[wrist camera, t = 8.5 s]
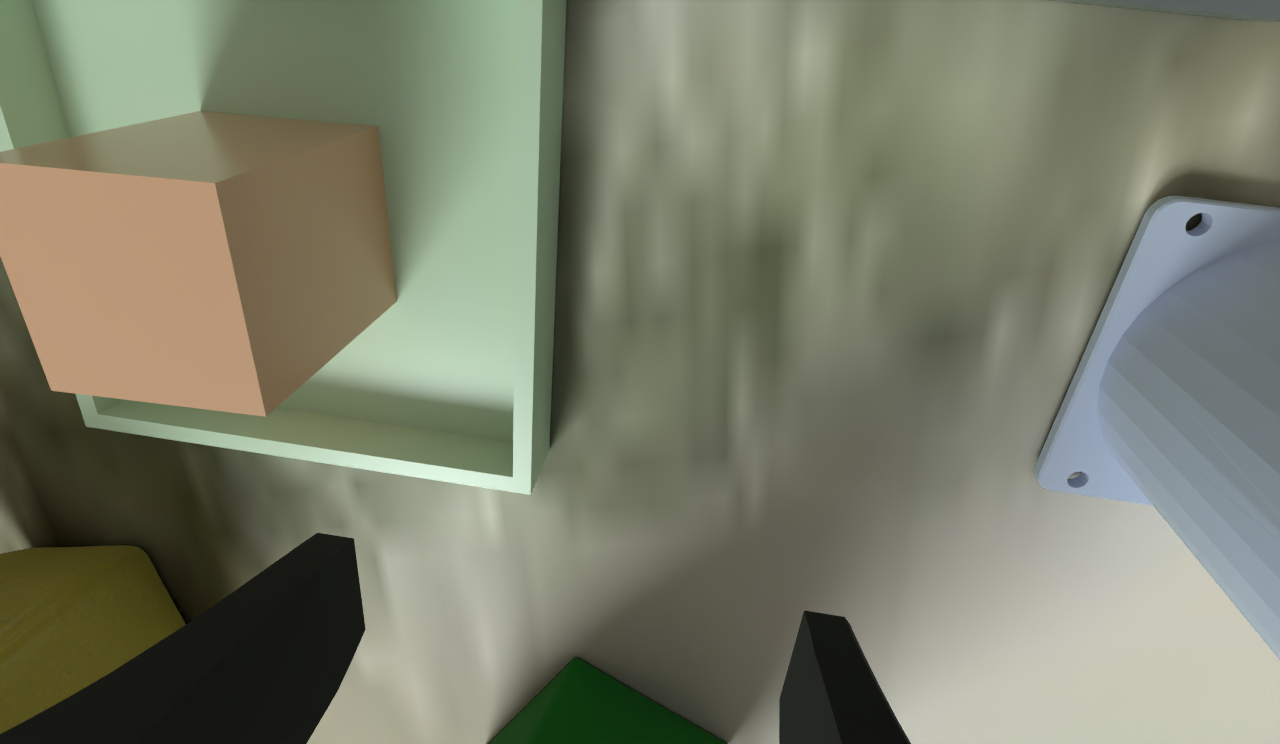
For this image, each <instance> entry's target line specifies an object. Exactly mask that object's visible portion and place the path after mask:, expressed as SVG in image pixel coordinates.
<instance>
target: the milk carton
mask: <svg viewBox="0 0 1280 744" xmlns="http://www.w3.org/2000/svg"><path fill="white" fill-rule="evenodd" d="M489 744H727V743H725V742H723V741H722V740H720V739H718V738H716V737H715V736H713V735H711V734H709V733H708V732H706V731H704V730H702V729H701V728H699V727H697V726H695V725H694V724H692V723H690V722H688V721H687V720H685V719H683V718H681V717H680V716H678V715H676V714H675V713H673V712H671V711H669V710H668V709H666V708H664V707H662V706H661V705H659V704H657V703H655V702H654V701H652V700H650V699H648V698H647V697H645V696H643V695H641V694H640V693H638V692H636V691H634V690H633V689H631V688H629V687H627V686H626V685H624V684H622V683H620V682H619V681H617V680H615V679H613V678H612V677H610V676H608V675H606V674H605V673H603V672H601V671H599V670H598V669H596V668H594V667H592V666H591V665H589V664H587V663H585V662H584V661H582V660H580V659H579V658H577V657H575V658H574V659H573V660H572V661H571V662H570V663H569V664H568V665H567V666H566V667H565V668H564V669H563V670H562V671H561V672H560V673H559V674H558V675H557V676H556V677H555V678H554V679H553V680H552V681H551V682H550V683H549V684H548V685H547V686H546V687H545V688H544V689H543V690H542V691H541V692H540V693H539V694H538V695H537V696H536V697H535V698H534V699H533V700H532V701H531V702H530V703H529V704H528V705H527V706H526V707H525V708H524V709H523V710H522V711H521V712H520V713H519V714H518V715H517V716H516V717H515V718H514V719H513V720H512V721H511V722H510V723H509V724H508V725H507V726H506V727H505V728H504V729H503V730H502V731H501V732H500V733H499V734H498V735H497V736H496V737H495V738H494V739H493V740H492V741H491V742H490V743H489Z"/></svg>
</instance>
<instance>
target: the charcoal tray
mask: <svg viewBox="0 0 1280 744" xmlns="http://www.w3.org/2000/svg"><path fill="white" fill-rule="evenodd" d="M1050 1H1060V2H1070V3H1080V4H1090V5H1100V6H1109V7H1119V8H1129V9H1139V10H1149V11H1158V12H1168V13H1178V14H1188V15H1198V16H1208V17H1217V18H1227V19H1237V20H1247V21H1270V22H1280V0H1050Z"/></svg>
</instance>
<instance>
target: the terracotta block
mask: <svg viewBox="0 0 1280 744" xmlns="http://www.w3.org/2000/svg"><path fill="white" fill-rule="evenodd" d="M0 256H1V259H2V262H3V264H4V267H5V270H6V272H7V275H8V277H9V280H10V283H11V285H12V288H13V291H14V293H15V296H16V299H17V301H18V304H19V307H20V309H21V312H22V315H23V317H24V320H25V322H26V325H27V328H28V330H29V333H30V336H31V338H32V341H33V344H34V346H35V349H36V352H37V354H38V357H39V359H40V362H41V365H42V367H43V370H44V373H45V375H46V378H47V381H48V383H49V386H50V389H51V391H58V392H66V393H75V394H83V395H91V396H99V397H108V398H116V399H124V400H132V401H141V402H149V403H157V404H165V405H174V406H182V407H190V408H198V409H206V410H215V411H223V412H231V413H239V414H248V415H256V416H264V417H266V416H267V415H269V414H270V413H271V412H272V411H273V410H274V409H275V408H277V407H278V406H279V405H280V404H281V403H282V402H283V401H284V400H286V399H287V398H288V397H289V396H290V395H291V394H292V393H294V392H295V391H296V390H297V389H298V388H299V387H300V386H302V385H303V384H304V383H305V382H306V381H307V380H308V379H309V378H311V377H312V376H313V375H314V374H315V373H316V372H317V371H319V370H320V369H321V368H322V367H323V366H324V365H325V364H327V363H328V362H329V361H330V360H331V359H332V358H333V357H334V356H336V355H337V354H338V353H339V352H340V351H341V350H342V349H344V348H345V347H346V346H347V345H348V344H349V343H350V342H351V341H353V340H354V339H355V338H356V337H357V336H358V335H359V334H361V333H362V332H363V331H364V330H365V329H366V328H367V327H369V326H370V325H371V324H372V323H373V322H374V321H375V320H376V319H378V318H379V317H380V316H381V315H382V314H383V313H384V312H386V311H387V310H388V309H389V308H390V307H391V306H392V305H393V304H395V303H396V302H397V296H396V287H395V277H394V268H393V259H392V250H391V240H390V231H389V222H388V213H387V203H386V194H385V185H384V176H383V167H382V157H381V148H380V139H379V130H378V126H371V125H360V124H348V123H336V122H325V121H313V120H301V119H290V118H278V117H266V116H255V115H243V114H231V113H220V112H208V111H197V112H192V113H187V114H183V115H178V116H173V117H168V118H163V119H158V120H153V121H148V122H144V123H139V124H134V125H129V126H124V127H119V128H114V129H109V130H105V131H100V132H95V133H90V134H85V135H80V136H75V137H70V138H66V139H61V140H56V141H51V142H46V143H41V144H36V145H31V146H27V147H22V148H17V149H12V150H7V151H2V152H0Z"/></svg>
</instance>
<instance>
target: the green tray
mask: <svg viewBox="0 0 1280 744" xmlns="http://www.w3.org/2000/svg"><path fill="white" fill-rule="evenodd" d="M566 5H567V0H0V152H2V151H7V150H12V149H17V148H22V147H27V146H31V145H36V144H41V143H46V142H51V141H56V140H61V139H66V138H70V137H75V136H80V135H85V134H90V133H95V132H100V131H105V130H109V129H114V128H119V127H124V126H129V125H134V124H139V123H144V122H148V121H153V120H158V119H163V118H168V117H173V116H178V115H183V114H187V113H192V112H197V111H208V112H220V113H231V114H243V115H255V116H266V117H278V118H290V119H301V120H313V121H325V122H336V123H348V124H360V125H371V126H378V130H379V139H380V148H381V157H382V167H383V176H384V185H385V194H386V203H387V213H388V222H389V231H390V240H391V250H392V259H393V268H394V277H395V287H396V296H397V302H396V303H395V304H393V305H392V306H391V307H390V308H389V309H388V310H387V311H386V312H384V313H383V314H382V315H381V316H380V317H379V318H378V319H376V320H375V321H374V322H373V323H372V324H371V325H370V326H369V327H367V328H366V329H365V330H364V331H363V332H362V333H361V334H359V335H358V336H357V337H356V338H355V339H354V340H353V341H351V342H350V343H349V344H348V345H347V346H346V347H345V348H344V349H342V350H341V351H340V352H339V353H338V354H337V355H336V356H334V357H333V358H332V359H331V360H330V361H329V362H328V363H327V364H325V365H324V366H323V367H322V368H321V369H320V370H319V371H317V372H316V373H315V374H314V375H313V376H312V377H311V378H309V379H308V380H307V381H306V382H305V383H304V384H303V385H302V386H300V387H299V388H298V389H297V390H296V391H295V392H294V393H292V394H291V395H290V396H289V397H288V398H287V399H286V400H284V401H283V402H282V403H281V404H280V405H279V406H278V407H277V408H275V409H274V410H273V411H272V412H271V413H270V414H269V415H267V416H266V417H264V416H256V415H248V414H239V413H231V412H223V411H215V410H206V409H198V408H190V407H182V406H174V405H165V404H157V403H149V402H141V401H132V400H124V399H116V398H108V397H99V396H91V395H83V394H75V395H76V398H77V401H78V404H79V407H80V410H81V413H82V416H83V419H84V422H85V425H86V427H91V428H98V429H104V430H111V431H117V432H124V433H130V434H137V435H143V436H150V437H156V438H163V439H170V440H176V441H183V442H189V443H196V444H202V445H209V446H215V447H222V448H228V449H235V450H241V451H248V452H254V453H261V454H268V455H274V456H281V457H287V458H294V459H300V460H307V461H313V462H320V463H326V464H333V465H339V466H346V467H352V468H359V469H366V470H372V471H379V472H385V473H392V474H398V475H405V476H411V477H418V478H424V479H431V480H437V481H444V482H450V483H457V484H464V485H470V486H477V487H483V488H490V489H496V490H503V491H509V492H516V493H522V494H529V495H531V493H532V490H533V488H534V485H535V483H536V481H537V478H538V476H539V474H540V471H541V469H542V466H543V464H544V462H545V459H546V457H547V455H548V452H549V447H550V421H551V395H552V369H553V343H554V317H555V291H556V265H557V239H558V213H559V187H560V161H561V135H562V109H563V83H564V57H565V31H566Z"/></svg>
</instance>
